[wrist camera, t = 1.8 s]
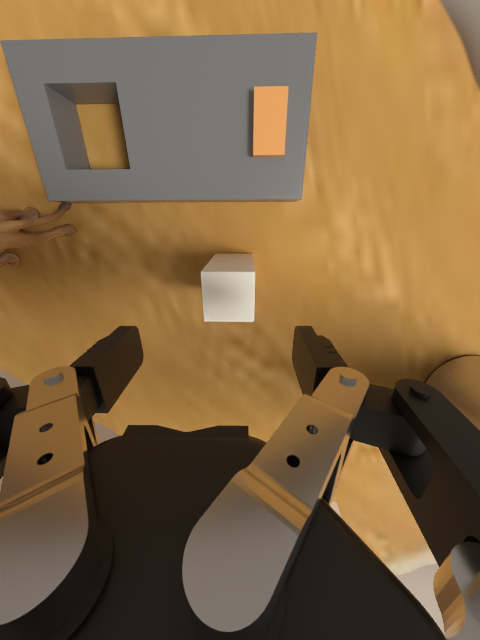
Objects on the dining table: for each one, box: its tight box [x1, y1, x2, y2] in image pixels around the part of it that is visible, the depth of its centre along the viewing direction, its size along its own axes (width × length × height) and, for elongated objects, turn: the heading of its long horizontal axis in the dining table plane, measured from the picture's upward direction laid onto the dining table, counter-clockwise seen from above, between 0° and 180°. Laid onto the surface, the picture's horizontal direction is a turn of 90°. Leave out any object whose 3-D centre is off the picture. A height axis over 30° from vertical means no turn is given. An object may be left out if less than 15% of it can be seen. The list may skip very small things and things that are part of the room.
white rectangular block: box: [201, 254, 255, 322], centre depth 22 cm, size 4×4×9 cm
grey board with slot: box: [0, 33, 317, 203], centre depth 19 cm, size 22×10×4 cm, turn 90°
